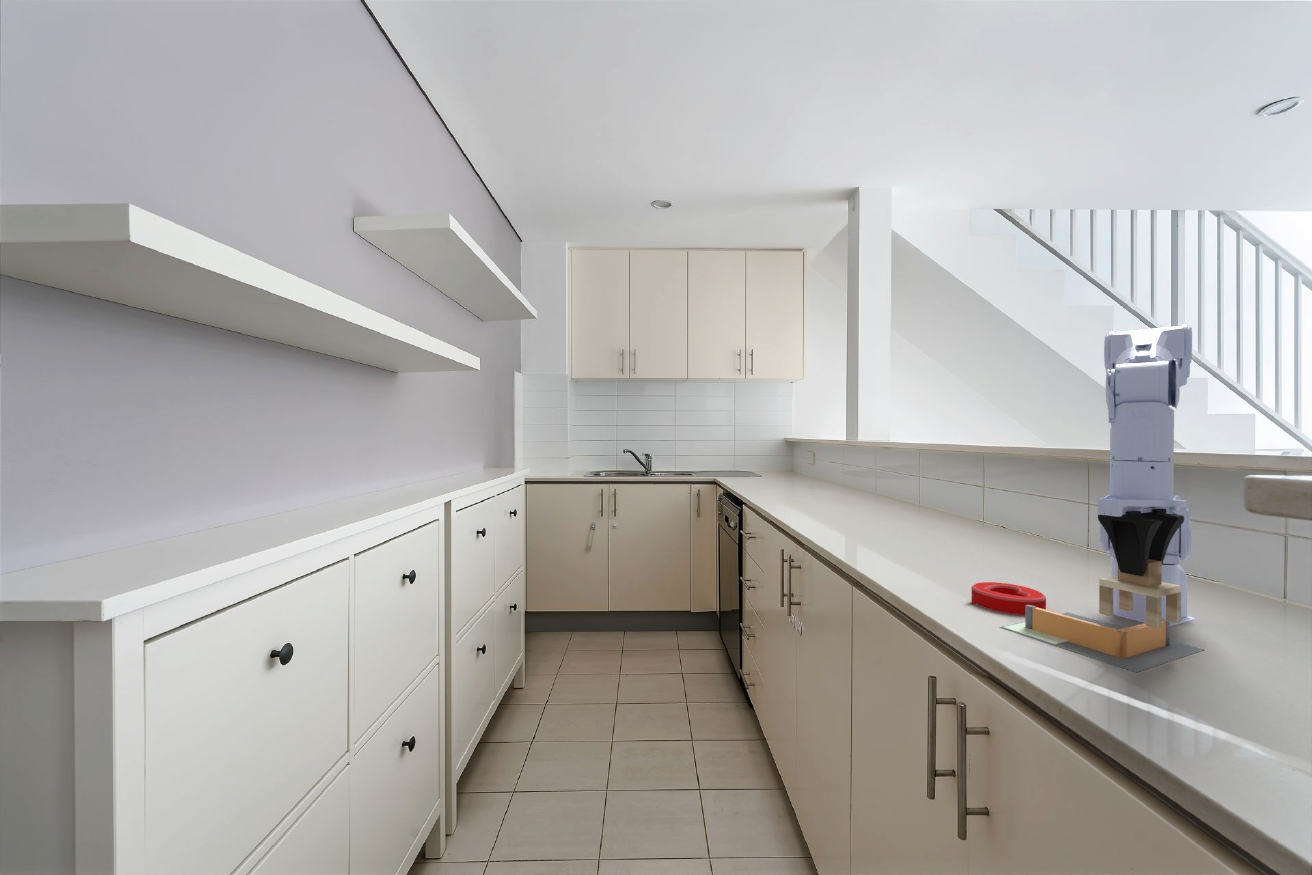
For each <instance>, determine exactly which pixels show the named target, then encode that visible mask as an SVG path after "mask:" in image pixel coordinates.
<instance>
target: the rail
mask: <svg viewBox="0 0 1312 875" xmlns="http://www.w3.org/2000/svg"><path fill="white" fill-rule="evenodd" d="M1024 616H1025V619H1024V620H1025V621H1024V622H1025V627H1026V628H1028V629H1033V630H1036V631H1039V632H1042V633H1046V634H1049V635H1052V636H1055V637H1058V638H1061V639H1065V640H1068V641H1069V642H1072V643H1075V644H1078V645H1081V646H1084V647H1088V648H1091V649H1094V650H1097V651H1100V652H1103V653H1107V654H1110V655H1113V656H1116V657H1119V658H1122V659H1123V658H1127V657H1130V656H1133V655H1136V654H1140V653H1143V652H1146V651H1150V650H1153V649H1156V648H1159V647H1163V646H1170V640H1171V626H1170V621H1168V620H1165V619H1161V627H1159V628H1154V627H1150V626H1147V625H1146V623H1144V622H1142V623H1140V624H1136V625H1132V626H1127V627H1123V628H1124V629H1120V630H1117V629H1114V628H1110V627H1106V626H1103V625H1099V624H1095V623H1092V622H1088V621H1085V620H1081V619H1077V618H1074V617H1070V616H1067V615H1063V613H1059V612H1055V611H1052V610H1049V609H1046V610H1045V609H1041V608H1038V607H1035V606H1032V605H1026V609H1025V615H1024Z"/></svg>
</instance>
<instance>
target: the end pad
mask: <svg viewBox="0 0 1312 875" xmlns="http://www.w3.org/2000/svg"><path fill="white" fill-rule="evenodd" d="M1022 622H1023V623H1021V622H1018V623H1019V624H1017V623H1014V625H1012V624H1009V625H1010V626H1007V625H1004V626H1005V627H1003V626H1002V627H1003V628H1006V629H1009V630H1012V631H1015V632H1018V633H1021V634H1024V635H1027V636H1030V637H1033V638H1036V639H1039V640H1042V641H1045V642H1048V643H1051V644H1054V645H1056V644H1060V643H1064V642H1068V640H1065V639H1061V638H1058V637H1055V636H1052V635H1049V634H1046V633H1042V632H1039V631H1036V630H1033V629H1028V628H1026V627H1025V621H1022ZM1039 640H1038V641H1039ZM1042 641H1041V642H1042ZM1045 642H1044V643H1045ZM1048 643H1047V644H1048ZM1051 644H1050V645H1051ZM1054 645H1053V646H1054Z"/></svg>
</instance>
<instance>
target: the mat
mask: <svg viewBox="0 0 1312 875" xmlns="http://www.w3.org/2000/svg"><path fill="white" fill-rule="evenodd" d="M1062 614H1063V615H1067V616H1070V617H1074V618H1077V619H1081V620H1085V621H1088V622H1092V623H1095V624H1099V625H1103V626H1106V627H1110V628H1114V629H1117V630H1120V629H1124V628H1125V627H1122V626H1120V625H1115V624H1112V623H1108V622H1104V621H1101V620H1096V619H1093V618H1091V617H1090V618H1089V617H1086V616H1082V615H1079V614H1075V613H1071V612H1067V611H1066V612H1064V613H1062ZM1023 622H1024V621H1022V622H1018V623H1016V624H1019V623H1023ZM1014 624H1015V623H1014ZM1014 624H1008V625H1004V626H999V629H1002V630H1005V631H1008V632H1012V633H1015V634H1018V635H1021V636H1024V637H1027V638H1030V639H1033V640H1035V641H1039V642H1041V643H1046V644H1049V645H1050V646H1054V647H1057V648H1061V649H1063V650H1067V651H1070V652H1072V653H1075V654H1079V655H1081V656H1085V657H1088V658H1090V659H1094V660H1097V661H1100V662H1102V663H1106V664H1108V665H1109V664H1110V665H1113V666H1115V667H1118V668H1122V669H1125V670H1127V671H1130V672H1133V673H1141V672H1143V671H1145V670H1149V669H1151V668H1155V667H1158V666H1162V665H1165V664H1167V663H1172V662H1173V661H1176V660H1180V659H1183V658H1186V657H1188V656H1191V655H1194V654H1198V653H1200V652H1203V651H1205V648H1204V649H1203V648H1199V647H1196V646H1193V645H1190V644H1185V643H1182V642H1178V641H1174V640H1171V639H1170V646H1163V647H1159V648H1156V649H1153V650H1150V651H1146V652H1143V653H1140V654H1136V655H1133V656H1130V657H1127V658H1123V659H1122V658H1119V657H1116V656H1113V655H1110V654H1107V653H1103V652H1100V651H1097V650H1094V649H1091V648H1088V647H1084V646H1081V645H1078V644H1075V643H1072V642H1069V641H1068V642H1064V643H1060V644H1056V645H1054V644H1051V643H1048V642H1045V641H1042V640H1039V639H1036V638H1033V637H1030V636H1027V635H1024V634H1021V633H1018V632H1015V631H1012V630H1009V629H1006V628H1003V627H1005V626H1010V625H1014Z"/></svg>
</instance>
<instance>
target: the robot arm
mask: <svg viewBox="0 0 1312 875" xmlns="http://www.w3.org/2000/svg"><path fill="white" fill-rule="evenodd" d="M1103 346H1104V348H1103V353H1104V354H1103V356H1104V357H1103V359H1104V361H1103V362H1104V368H1105V373H1106V374H1105V402H1106V406H1107V412H1108V423H1109V424H1110V432H1109V433H1110V434H1109V435H1110V436H1109V494H1107V495H1106V496H1104V497H1100V498H1097V520H1098V521H1099V547H1100V548H1101V549H1103V551H1104V552H1108V553H1109V556H1110V558H1111V559H1110V562H1111V563H1110V568H1111V569H1110V572H1111V573H1110V577H1112V576H1118V567H1119V569H1120V572H1122V573H1127V574H1132V575H1137V576H1144V573H1145V571H1146V568H1147V563H1148V559H1150V560H1156V561H1162V579H1161V582H1165V583H1171V584H1176V585H1181V622H1178V623H1176V622H1172V621H1170V627H1172V626H1176V625H1179V624H1182V623H1183V624H1184V623H1186V622H1189V621H1194V620H1196V618H1195V617H1193V616H1188V575H1187V573H1186V571H1185V569H1184V568H1183V567H1182V565H1180V564H1179V563H1180V561H1183V562H1184V561H1185V562H1186V561H1187V560H1188V559H1190V558H1191V557H1192V556H1191V554H1192V520H1191V518H1190V516H1191V514H1190V513H1191V512H1190V510H1189V508H1188V507H1187V506H1188V504H1187V503H1188V501H1187V500H1186V499H1181V495H1174V463H1175V462H1174V458H1175V457H1174V454H1175V452H1174V451H1175V450H1174V448H1175V446H1174V444H1175V440H1174V439H1175V409H1177V407H1178V405H1179V402H1180V392H1181V391H1180V388H1181V387H1184V386H1186V385H1187V383H1188V378H1190V372H1191V363H1192V359H1193V358H1192V357H1193V354H1192V353H1193V328H1192V327H1191V326H1189V325H1188V324H1182V325H1181V326H1180V325H1178V326H1167V327H1157V328H1148V329H1147V328H1146V329H1138V330H1128V331H1127V330H1125V331H1116V332H1115V331H1110V332H1108V333H1107V334H1106V335H1105V336H1104V345H1103ZM1170 406H1171V407H1173V408H1175V409H1173V408H1171V407H1170ZM1097 611H1098V612H1099V608H1098V609H1097ZM1113 615H1114V616H1117V617H1121V618H1126V619H1129V620H1132V621H1137V622H1140V623H1146V595H1143V594H1138V593H1133V610H1132V611H1126V610H1122V609H1119V589H1115V588H1113ZM1113 615H1112V616H1113ZM1161 619H1165V620H1166V596H1162V606H1161Z"/></svg>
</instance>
